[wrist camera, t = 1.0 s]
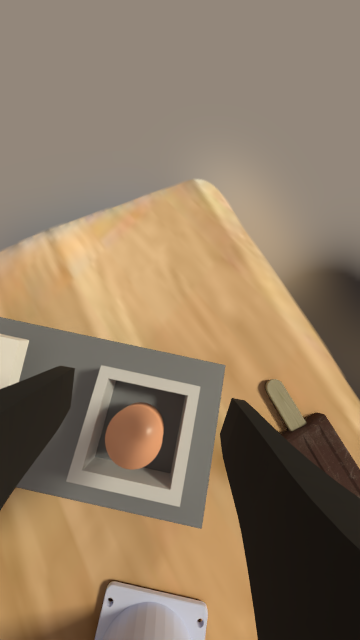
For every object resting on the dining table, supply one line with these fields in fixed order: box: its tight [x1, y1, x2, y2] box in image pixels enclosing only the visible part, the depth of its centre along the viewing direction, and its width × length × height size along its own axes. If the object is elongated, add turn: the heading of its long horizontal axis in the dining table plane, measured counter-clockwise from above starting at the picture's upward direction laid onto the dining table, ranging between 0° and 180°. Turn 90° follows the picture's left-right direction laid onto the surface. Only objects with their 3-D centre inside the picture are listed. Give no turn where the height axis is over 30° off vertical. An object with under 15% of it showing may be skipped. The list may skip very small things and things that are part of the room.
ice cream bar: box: [265, 379, 360, 498], centre depth 19 cm, size 5×2×15 cm
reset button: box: [105, 402, 164, 470], centre depth 15 cm, size 4×4×2 cm
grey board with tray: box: [0, 317, 225, 529], centre depth 18 cm, size 12×24×6 cm, turn 78°
